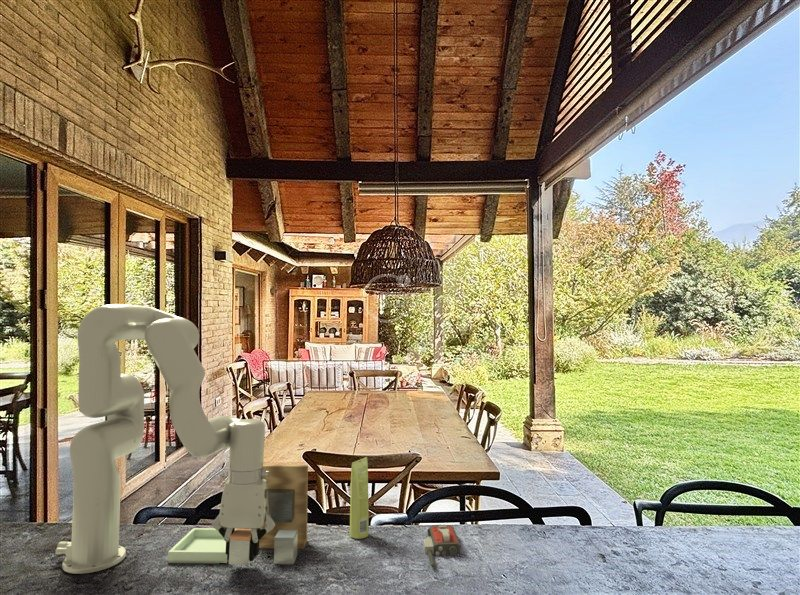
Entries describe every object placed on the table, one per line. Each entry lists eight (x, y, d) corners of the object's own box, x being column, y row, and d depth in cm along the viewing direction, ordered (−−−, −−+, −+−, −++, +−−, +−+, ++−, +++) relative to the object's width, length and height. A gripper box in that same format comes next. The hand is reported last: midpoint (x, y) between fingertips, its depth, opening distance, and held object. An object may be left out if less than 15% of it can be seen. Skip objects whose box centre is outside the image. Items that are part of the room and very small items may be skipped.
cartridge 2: (274, 564, 116) (274, 537, 116) (278, 555, 120) (279, 529, 120) (293, 564, 116) (293, 537, 116) (297, 555, 120) (297, 529, 120)
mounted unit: (246, 549, 123) (248, 469, 124) (252, 540, 128) (254, 463, 129) (303, 549, 123) (304, 469, 124) (307, 541, 128) (308, 464, 129)
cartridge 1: (228, 564, 111) (230, 536, 111) (235, 554, 115) (236, 528, 116) (248, 564, 111) (249, 537, 111) (254, 555, 115) (255, 529, 116)
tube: (348, 531, 134) (348, 457, 135) (366, 530, 135) (367, 456, 136) (351, 540, 128) (351, 462, 129) (370, 538, 129) (371, 461, 131)
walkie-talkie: (420, 535, 133) (428, 572, 113) (420, 518, 133) (428, 552, 113) (453, 534, 133) (467, 571, 113) (453, 517, 133) (466, 551, 113)
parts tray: (167, 562, 116) (168, 551, 116) (193, 538, 130) (193, 528, 130) (226, 563, 116) (226, 552, 116) (245, 538, 129) (245, 528, 129)
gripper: (286, 471, 118) (283, 551, 117) (215, 469, 118) (211, 549, 117) (278, 481, 110) (274, 567, 109) (202, 479, 111) (197, 564, 110)
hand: (242, 557), depth 113 cm, fingers closed on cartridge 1, 4 cm apart
